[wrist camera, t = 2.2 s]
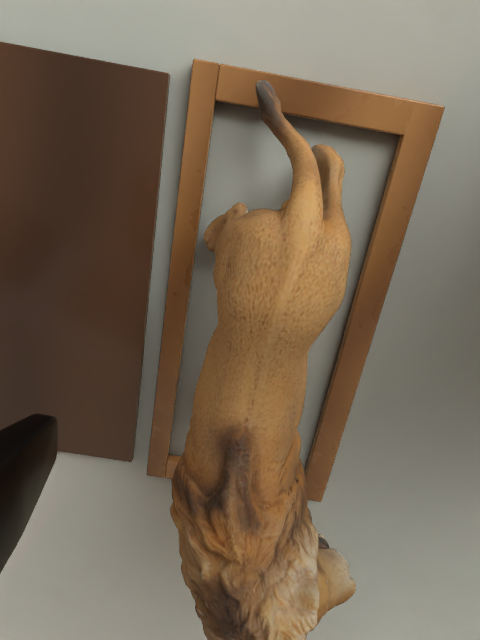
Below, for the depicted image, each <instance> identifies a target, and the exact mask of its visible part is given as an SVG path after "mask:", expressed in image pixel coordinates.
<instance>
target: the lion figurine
mask: <svg viewBox="0 0 480 640" xmlns="http://www.w3.org/2000/svg"><path fill="white" fill-rule="evenodd" d="M255 89H256V95H257V99H258V105H259V110H260V115H261V118H262V120H263V121H264V123H265V124H266V125H267V126H268V127H269V128H270V129H271V131H272V132H273V134H274V135H275V136H276V137H277V138H278V140H279V141H280V142H281V144H282V145H283V146H284V148H285V149H286V151H287V154H288V156H289V158H290V161H291V164H292V169H293V183H292V191H291V194H290V198H289V200H287V201H285V202H284V203H283V205H282V207H281V209H280V210H278V211H276V210H270V209H256V210H253V211H250V212H248V207H247V206H246V205H245V204H243V203H237V204H235V205H233V206H232V208H231V209H230V210H229V211H227V212H226V213H225V214H224V215H221V216H219V217H217V218H216V219H215V220H214V221H213V222H212V223H211V224H210V225H209V226H208V228H207V229H206V231H205V234H204V241H205V243H206V246H207V248H208V249H209V250H210V251H212V252H214V253H215V260H216V262H215V265H214V271H213V277H214V283H215V286H216V290H217V307H218V325H217V327H216V329H215V331H214V333H213V336H212V338H211V340H210V342H209V345H208V348H207V352H206V357H205V360H204V363H203V366H202V369H201V372H200V375H199V379H198V382H197V385H196V389H195V394H194V401H193V412H192V417H191V420H190V429H189V431H188V433H187V438H186V443H185V451H184V453H183V455H182V457H181V458H180V460H179V462H178V464H177V466H176V469H175V472H174V475H173V477H172V499H173V503H172V505H171V508H170V512H171V516H172V519H173V521H174V523H175V525H176V527H177V529H178V533H179V545H180V547H179V553H180V556H181V558H182V564H181V571H182V575H183V578H184V581H185V584H186V586H187V587H188V588H189V589H190V591H191V594H192V596H193V598H194V600H195V603H196V605H195V610H196V612H197V615H198V617H199V618H200V619H201V621H202V624H203V630H204V634H205V636H206V637H207V639H208V640H306V635H307V633H308V632H310V631H312V630H313V629H314V628H315V627H316V625H317V624H318V623H319V621H320V619H321V618H322V616H323V615H325V614H326V612H327V611H329V610H331V609H332V608H333V607H335V606H337V605H340V604H342V603H344V602H345V601H347V600H348V599H349V598H350V597H351V596H352V595H353V594H354V592H355V590H356V585H355V582H354V580H353V578H352V577H351V576H350V571H349V566H348V564H347V562H346V561H345V559H344V558H343V556H342V555H341V554H340V553H339V552H338V551H337V550H335V549H331V548H329V545H328V543H327V541H326V539H325V538H324V537H323V536H322V535H320V534H318V533H317V531H316V529H315V527H314V525H313V524H312V518H311V513H310V510H309V508H308V507H307V486H306V477H305V471H304V468H303V466H302V463H301V460H300V458H299V454H300V448H301V438H300V435H299V433H298V431H297V428H298V425H299V422H300V418H301V415H302V411H303V405H304V399H305V392H306V378H307V357H308V351H309V349H310V347H311V345H312V344H313V342H314V341H315V340H316V338H317V337H318V336H319V334H320V333H321V332H322V330H323V329H324V328H325V326H326V325H327V324H328V322H329V321H330V320H331V318H332V317H333V315H334V314H335V313H336V311H337V310H338V308H339V306H340V305H341V303H342V301H343V297H344V294H345V289H346V282H347V275H348V268H349V260H350V254H351V236H350V232H349V229H348V227H347V224H346V221H345V217H344V213H343V209H342V205H341V194H342V180H343V177H344V173H345V170H344V163H343V160H342V158H341V157H340V156H339V155H338V154H337V153H336V151H335V150H334V149H333V148H332V147H329V146H326V145H322V144H319V145H315V146H313V147H312V148H310V146H309V144H308V143H307V141H306V140H305V139H304V138H303V137H302V136H301V135H300V134H299V133H298V132H297V131H296V130H295V129H294V128H293V127H292V125H291V124H290V123H289V122H288V121H287V120H286V119H285V118H284V115H283V113H282V112H281V103H280V100H279V99H278V98H277V96H276V94H275V91H274V88H273V87H272V85H271V84H270V83H269V82H268V81H266V80H260V81H258V82H257V83H256V88H255Z"/></svg>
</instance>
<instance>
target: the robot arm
mask: <svg viewBox="0 0 480 640" xmlns="http://www.w3.org/2000/svg"><path fill="white" fill-rule="evenodd" d="M57 450H58V421H57V418H56V417H55V416H51V415H44V414H37V413H36V414H33V415H30V416H28V417H26V418H24V419H22V420H20V421H18V422H16V423H14V424H12V425H10V426H8V427H6V428H3V429H1V430H0V573H1V571H2V570H3V568H4V566H5V564H6V563H7V561H8V559H9V557H10V556H11V554H12V552H13V551H14V549H15V547H16V545H17V543H18V542H19V540H20V538H21V536H22V534H23V532H24V530H25V528H26V526H27V523H28V521H29V519H30V517H31V514H32V512H33V510H34V508H35V505H36V503H37V501H38V499H39V497H40V494H41V492H42V490H43V488H44V485H45V483H46V481H47V479H48V476H49V474H50V472H51V470H52V467H53V465H54V463H55V460H56V456H57Z"/></svg>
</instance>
